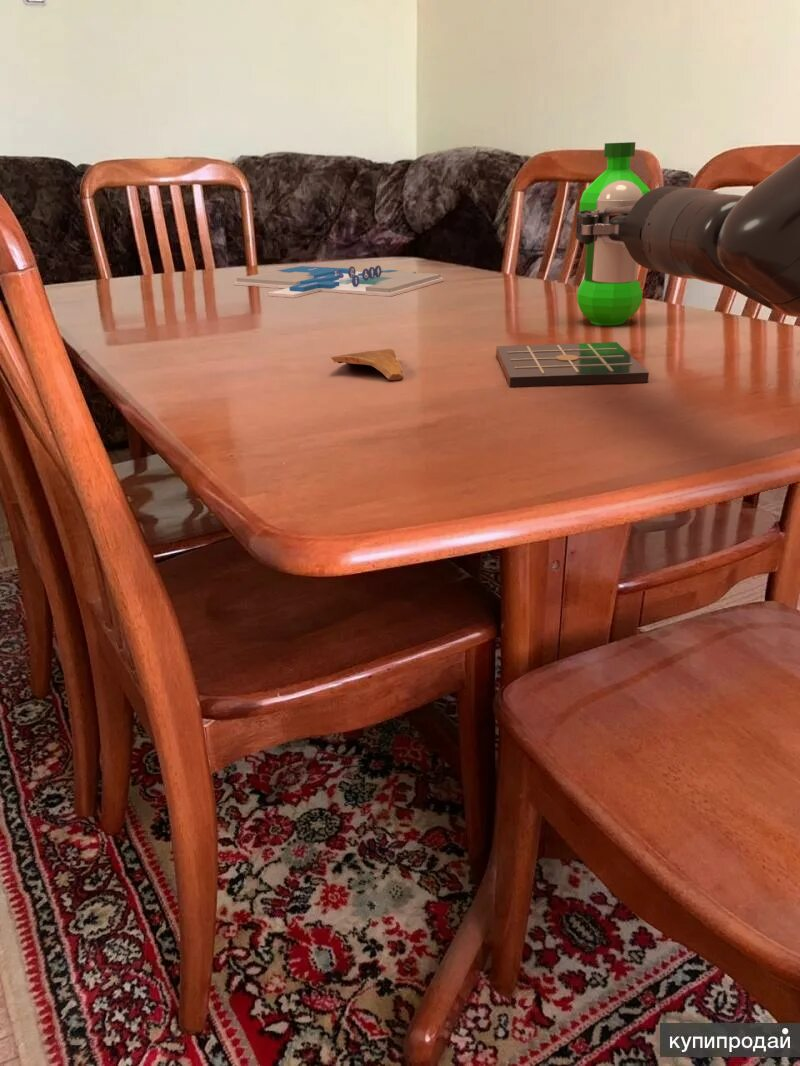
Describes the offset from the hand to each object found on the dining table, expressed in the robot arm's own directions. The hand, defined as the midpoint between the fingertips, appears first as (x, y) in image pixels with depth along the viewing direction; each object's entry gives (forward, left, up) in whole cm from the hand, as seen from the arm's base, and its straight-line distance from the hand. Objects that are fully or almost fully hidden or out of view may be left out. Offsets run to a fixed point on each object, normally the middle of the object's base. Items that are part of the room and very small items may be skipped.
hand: (608, 219), depth 90 cm
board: (+3, -6, -18) cm, 19 cm away
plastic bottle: (-8, -33, -18) cm, 38 cm away
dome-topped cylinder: (0, +3, -6) cm, 7 cm away
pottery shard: (+27, -8, -18) cm, 33 cm away
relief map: (+39, -80, -18) cm, 90 cm away
